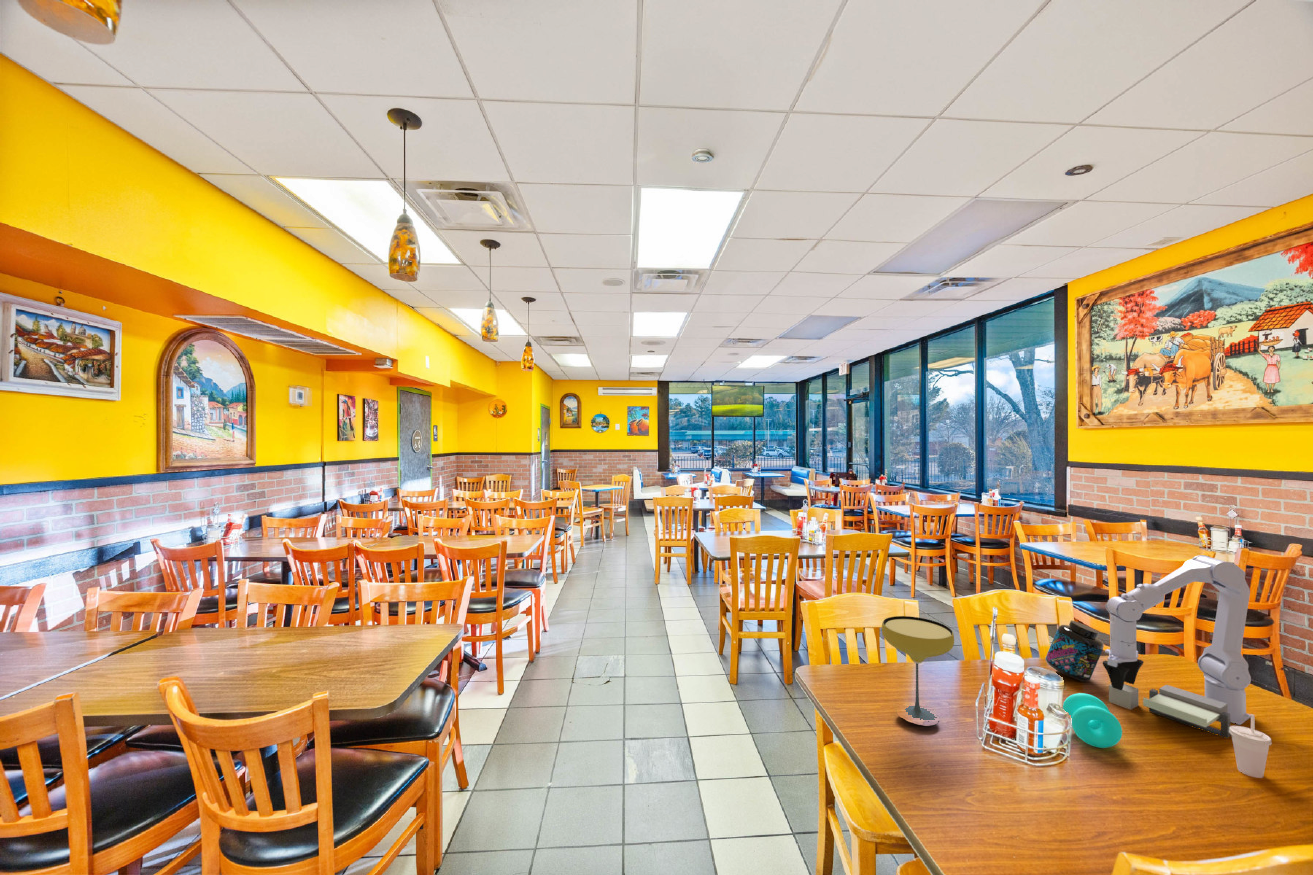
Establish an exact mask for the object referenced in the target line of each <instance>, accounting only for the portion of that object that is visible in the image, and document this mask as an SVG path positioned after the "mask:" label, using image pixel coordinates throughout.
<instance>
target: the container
mask: <svg viewBox="0 0 1313 875" xmlns="http://www.w3.org/2000/svg"><path fill="white" fill-rule="evenodd" d="M1099 634H1100V632H1099V630H1098V631H1097V630H1096V629H1094V628H1093V627H1090V626H1088V625H1086V624H1084V623H1082V622H1079V621H1075V620H1070V621H1069V624H1061V625H1059V626H1058V628H1057V629H1056V632H1055V633H1054V636H1053V639H1052V642H1051V643H1050V646H1049V648H1048V651H1047V654H1046V656H1045V662H1046V663H1047V665H1049V666H1050V667H1051V668H1052V669H1054V670H1056V671H1057V672H1059V673H1061V674H1063V675H1065V676H1067V677H1069V678H1072V679H1074V680H1077V681H1079V682H1088V681H1091V679H1092V676H1093V673H1094V671H1095V669H1096V667H1097V665H1098V662H1099V660H1100V657H1101V655H1102V652H1103V650H1104V642H1102V640H1101V639H1099V638H1098V637H1099Z"/></svg>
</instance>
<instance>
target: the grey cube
mask: <svg viewBox="0 0 1313 875" xmlns="http://www.w3.org/2000/svg"><path fill="white" fill-rule="evenodd" d="M1108 703H1111V704H1114V705H1117V706H1119V707H1122V708H1124V709H1128V710H1133V709H1134V708H1136V707H1138V706H1139V688H1138V687H1134V686H1132V685H1128V684H1125V683H1124V686H1123V689H1122V690H1118V689H1115V688H1113V687H1112V685H1111V683H1110V684H1109V685H1108Z"/></svg>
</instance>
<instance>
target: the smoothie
mask: <svg viewBox="0 0 1313 875" xmlns="http://www.w3.org/2000/svg"><path fill="white" fill-rule="evenodd" d="M1250 715H1251V717H1250V728H1249V727H1246V726H1241V725H1230V727H1229V732H1230V734H1231V740H1232V744H1233V745H1232V746H1233V750H1234V751H1233V752H1234V755H1235V761H1236V762H1235V763H1236V768H1237V770H1238V772H1240V773H1241V772H1242V774H1244V775H1245V776H1248V777H1252V778H1257V779H1258V778H1259V779H1262V778H1264V774H1265V771H1266V770H1265V769H1266V765H1267V758H1268V754H1269V750H1270V749H1269V748H1270V746H1271V745H1272V744H1273V742H1272V738H1271V737H1270V736H1269V735H1267V734H1266V733H1264V732H1262V731H1259V730H1257V729H1255V728H1256V727H1255V726H1256V725H1255V723H1256V722H1255V719H1256V718H1255V714H1253V713H1250Z"/></svg>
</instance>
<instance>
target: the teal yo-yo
mask: <svg viewBox="0 0 1313 875" xmlns="http://www.w3.org/2000/svg"><path fill="white" fill-rule="evenodd" d="M1063 709H1064V710H1065V711H1066V712H1068V713H1069V715H1071V718H1072V725H1071V727H1072V730H1073V732H1074V734H1076V736H1077V737H1078V738H1079V739H1080V740H1081V741H1083V742H1084V743H1085V744H1088V745H1089V746H1091V747H1092V746H1093V747H1094V748H1099V749H1100V748H1101V749H1105V748H1111V747H1114V746H1115V745H1117V744H1118V743H1119V742H1120V741H1121V739H1122V736H1123V729H1122V725H1121V723H1120V721H1119V720H1118V718H1116V716H1115V715H1114V714H1113V713H1112V712H1110V710H1109V707H1108V706H1107V705H1106V704H1105V703H1104V701H1102V700H1101V699H1100V698H1098V697H1096V696H1095V695H1092V694H1088V693H1084V692H1083V693H1082V692H1078V693H1073V694H1070V695H1069V696H1067V697H1066V699H1065V700H1064V701H1063V703H1062V710H1063Z"/></svg>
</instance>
